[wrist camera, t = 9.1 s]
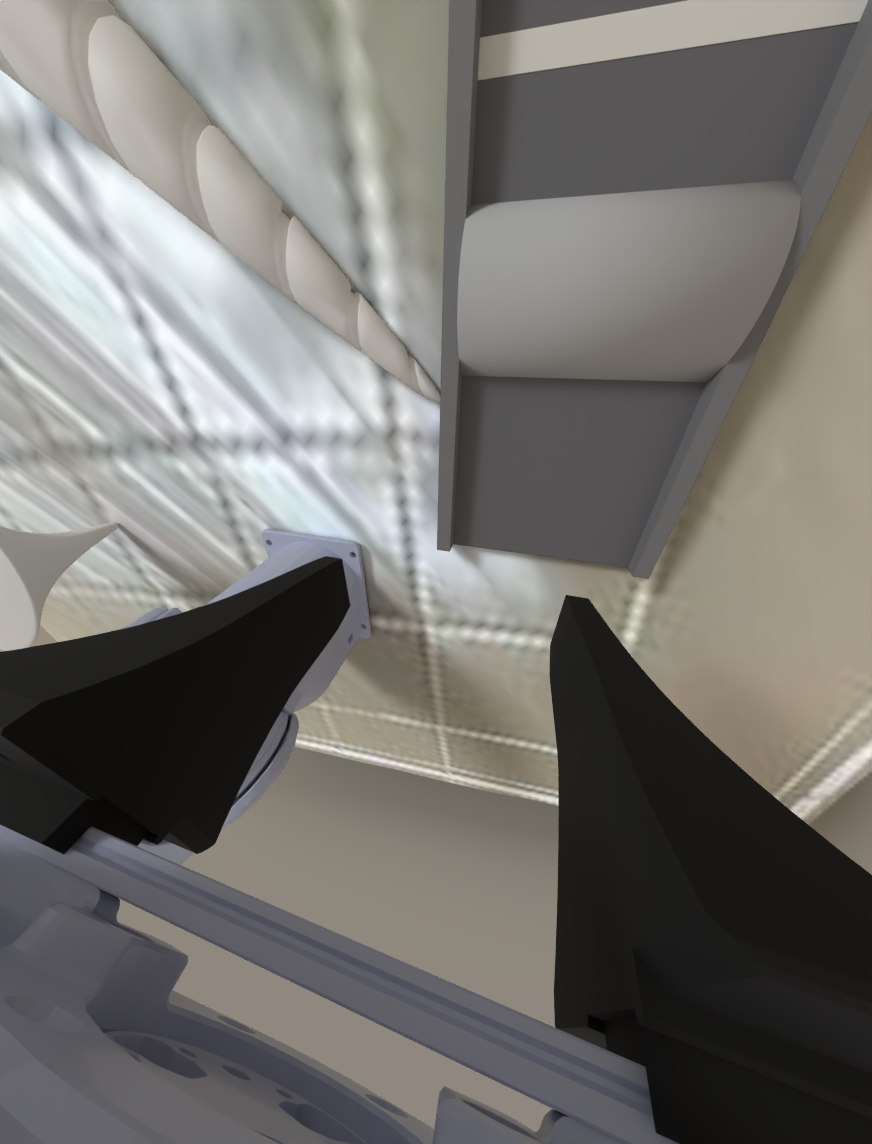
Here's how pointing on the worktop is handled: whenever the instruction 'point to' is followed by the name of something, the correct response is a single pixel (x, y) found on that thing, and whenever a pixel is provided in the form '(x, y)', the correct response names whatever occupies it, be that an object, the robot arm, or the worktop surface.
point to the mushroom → (35, 576)
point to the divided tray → (622, 248)
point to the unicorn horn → (183, 158)
